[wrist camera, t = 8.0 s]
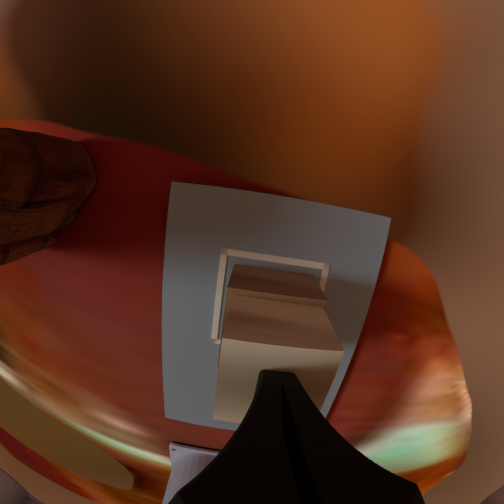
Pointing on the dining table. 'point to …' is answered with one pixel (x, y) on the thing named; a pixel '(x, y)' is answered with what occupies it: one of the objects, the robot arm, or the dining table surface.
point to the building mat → (262, 256)
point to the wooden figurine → (39, 189)
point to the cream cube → (273, 351)
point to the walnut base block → (272, 288)
